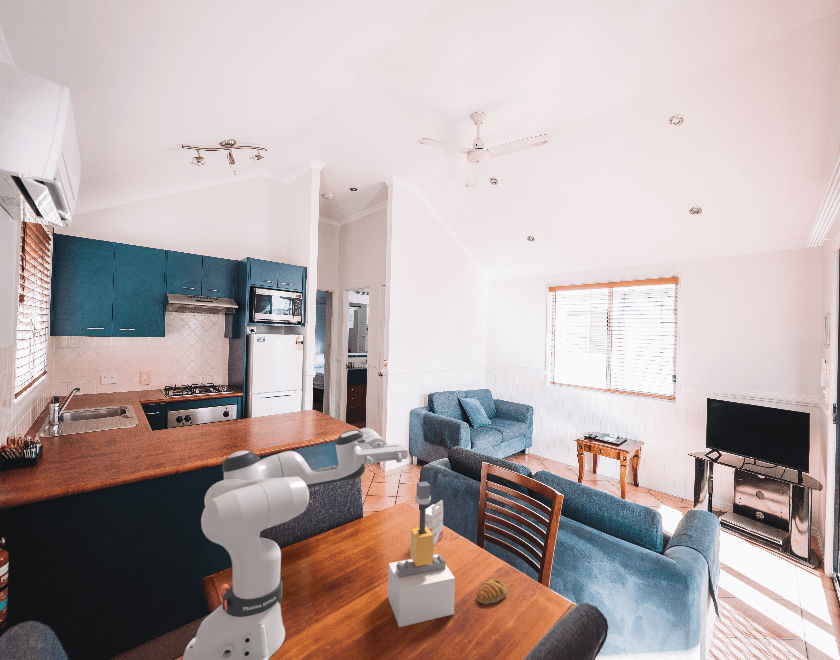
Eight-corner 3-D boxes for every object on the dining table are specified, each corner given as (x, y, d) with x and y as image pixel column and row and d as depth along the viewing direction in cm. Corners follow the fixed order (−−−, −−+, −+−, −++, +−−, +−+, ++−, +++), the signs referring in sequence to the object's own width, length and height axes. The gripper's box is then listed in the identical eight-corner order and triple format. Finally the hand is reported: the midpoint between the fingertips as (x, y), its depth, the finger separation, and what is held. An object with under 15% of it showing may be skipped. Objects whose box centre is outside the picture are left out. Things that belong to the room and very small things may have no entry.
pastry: (488, 610, 107) (488, 597, 107) (470, 598, 112) (470, 585, 112) (508, 596, 113) (508, 584, 113) (490, 585, 118) (491, 573, 118)
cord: (416, 576, 105) (418, 487, 106) (411, 567, 110) (413, 481, 110) (430, 573, 107) (433, 486, 107) (425, 564, 111) (427, 480, 111)
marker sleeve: (415, 566, 105) (416, 537, 105) (410, 556, 110) (411, 528, 110) (432, 563, 107) (433, 535, 107) (426, 553, 111) (427, 526, 112)
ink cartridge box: (432, 533, 148) (433, 495, 148) (443, 537, 145) (444, 499, 145) (420, 543, 141) (421, 503, 141) (431, 547, 138) (432, 507, 138)
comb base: (399, 627, 100) (400, 579, 100) (387, 597, 111) (389, 554, 111) (454, 614, 105) (455, 568, 105) (437, 586, 116) (439, 545, 117)
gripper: (400, 453, 148) (414, 467, 136) (349, 459, 140) (358, 474, 127) (401, 438, 148) (415, 450, 135) (350, 442, 140) (359, 455, 127)
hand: (387, 461), depth 131 cm, fingers open, 8 cm apart
